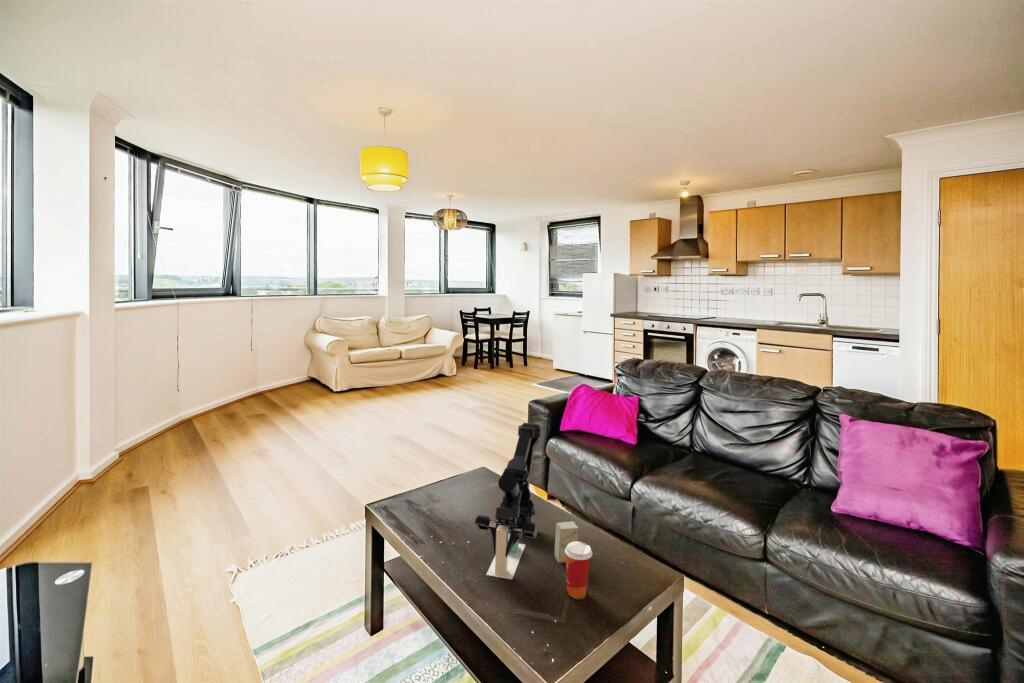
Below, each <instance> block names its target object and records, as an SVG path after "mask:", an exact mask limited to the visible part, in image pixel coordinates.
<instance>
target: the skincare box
mask: <svg viewBox="0 0 1024 683" xmlns="http://www.w3.org/2000/svg"><path fill="white" fill-rule="evenodd" d="M554 535H555V536H554V537H555V538H554V539H555V540H554V551H553V552H554V555H553V556H554V558H555V560H556V561H557V563H558V564H564V563H566V553H565V549H566V547H567V545H568V544H569V543H571V542H575V541H578V540H579V538H578V537H579V526H578V525H577V523H576V522H575V521H574V520H572V521H560V522H555V534H554ZM578 542H579V541H578Z"/></svg>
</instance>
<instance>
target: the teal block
mask: <svg viewBox="0 0 1024 683" xmlns="http://www.w3.org/2000/svg"><path fill="white" fill-rule="evenodd" d="M509 538H510V533H508V542H509ZM519 541H520V539H518V541H517V542H516V543H515V545H514V546H513V548H512V549H511V551H510V552H511V553H516V551H517V549H518V545H519V544H520V543H519Z"/></svg>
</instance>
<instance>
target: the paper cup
mask: <svg viewBox="0 0 1024 683" xmlns="http://www.w3.org/2000/svg"><path fill="white" fill-rule="evenodd" d="M565 553H566V562H565V565H566V566H565V568H566V572H565V573H566V574H565V576H566V579H565V580H566V594H568V595H569V596H571V597H573V598H582V597H584V596H585V595H586V596H587V593H588V587H589V577H590V569H591V561H592V557H593V551H592V547H591V546H590V544H587V543H585V542H582V541H575V542H571V543H569V544H568V545H567V547H566V549H565ZM568 595H567V596H568ZM569 596H568V597H569Z"/></svg>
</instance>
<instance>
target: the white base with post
mask: <svg viewBox="0 0 1024 683" xmlns="http://www.w3.org/2000/svg"><path fill="white" fill-rule="evenodd" d="M509 531H510V530H509V526H502V525H499V526H498V528H497V530H496V555H494V558H493V559H492V562H491V564H490V566H489V568H488V570H487V572H486V574H485V575H486V576H491V577H495V578H502V579H507V580H513V578H514V576H515V573H516V570H517V568H518V565H519V564H520V560H521V558H522V554H523V553H524V550H525V548H526V544H525V543H519V545H518V549H517V551H516V553H511V552H510V553H509V555H508V556H507V557H505V554H506V549H507V545H508V534H509Z"/></svg>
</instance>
